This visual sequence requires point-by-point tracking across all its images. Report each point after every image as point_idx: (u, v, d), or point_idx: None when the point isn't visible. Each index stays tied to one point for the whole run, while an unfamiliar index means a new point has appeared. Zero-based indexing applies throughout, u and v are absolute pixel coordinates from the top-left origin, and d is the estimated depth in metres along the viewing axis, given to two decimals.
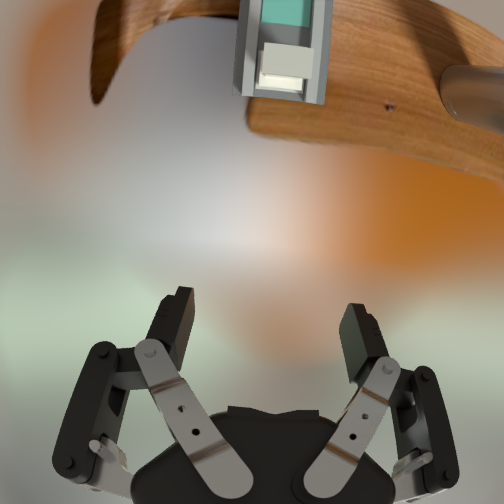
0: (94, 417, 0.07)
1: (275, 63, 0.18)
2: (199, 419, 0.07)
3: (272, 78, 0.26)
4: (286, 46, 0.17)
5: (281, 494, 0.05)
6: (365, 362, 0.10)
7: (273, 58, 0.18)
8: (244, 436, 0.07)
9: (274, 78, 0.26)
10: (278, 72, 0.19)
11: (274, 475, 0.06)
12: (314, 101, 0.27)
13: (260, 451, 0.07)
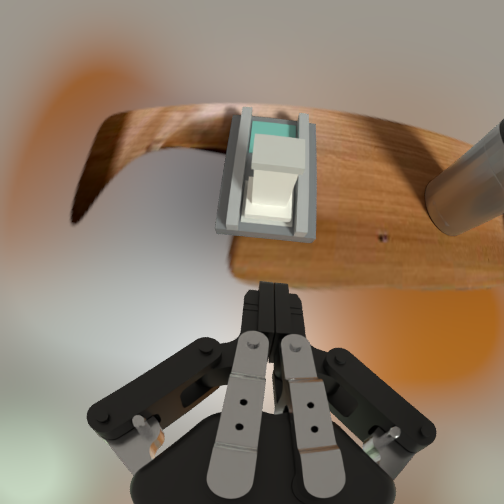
0: (157, 399, 0.08)
1: (266, 153, 0.20)
2: (251, 419, 0.07)
3: (259, 205, 0.29)
4: (277, 137, 0.20)
5: (281, 494, 0.05)
6: (275, 339, 0.11)
7: (264, 148, 0.20)
8: None
9: (261, 205, 0.29)
10: (269, 162, 0.20)
11: (274, 475, 0.06)
12: (305, 230, 0.28)
13: (259, 451, 0.07)
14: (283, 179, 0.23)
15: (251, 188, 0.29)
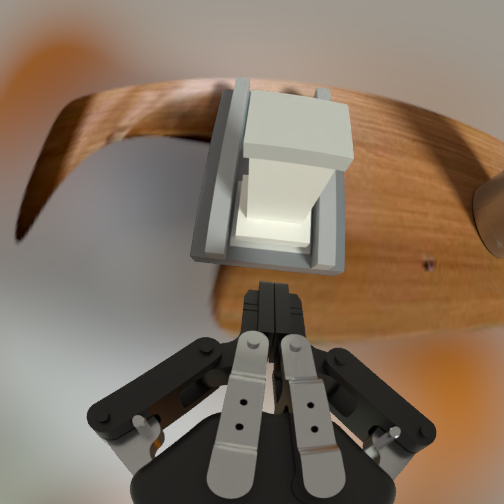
0: (157, 399, 0.08)
1: (274, 125, 0.09)
2: (251, 419, 0.07)
3: (259, 221, 0.18)
4: (295, 97, 0.10)
5: (281, 494, 0.05)
6: (275, 339, 0.11)
7: (270, 116, 0.09)
8: None
9: (263, 221, 0.18)
10: (280, 142, 0.09)
11: (274, 475, 0.06)
12: (332, 261, 0.18)
13: (259, 451, 0.07)
14: (304, 179, 0.12)
15: (246, 193, 0.18)
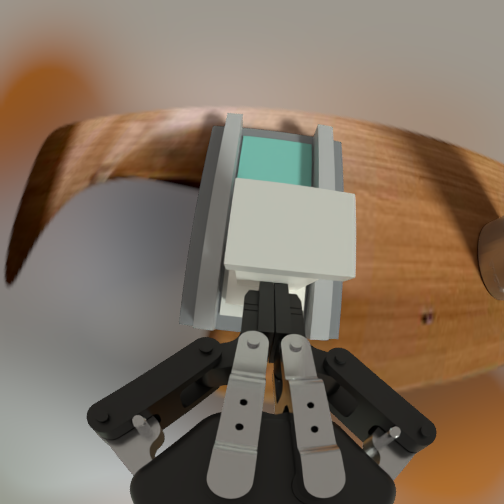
0: (157, 399, 0.08)
1: (261, 235, 0.08)
2: (251, 418, 0.07)
3: (251, 288, 0.17)
4: (290, 188, 0.09)
5: (281, 494, 0.05)
6: (275, 339, 0.11)
7: (257, 221, 0.08)
8: None
9: (254, 288, 0.17)
10: (268, 261, 0.08)
11: (274, 475, 0.06)
12: (325, 336, 0.16)
13: (259, 451, 0.07)
14: None
15: None
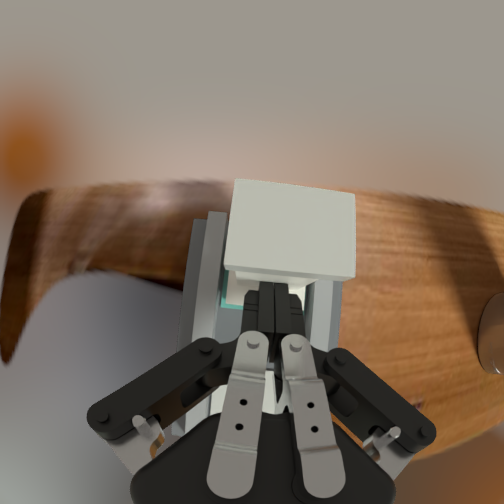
0: (156, 399, 0.08)
1: (261, 236, 0.08)
2: (251, 419, 0.07)
3: (251, 288, 0.17)
4: (289, 188, 0.09)
5: (281, 494, 0.05)
6: (276, 339, 0.11)
7: (256, 221, 0.08)
8: None
9: (254, 288, 0.17)
10: (268, 262, 0.08)
11: (274, 475, 0.06)
12: None
13: (259, 450, 0.07)
14: None
15: None
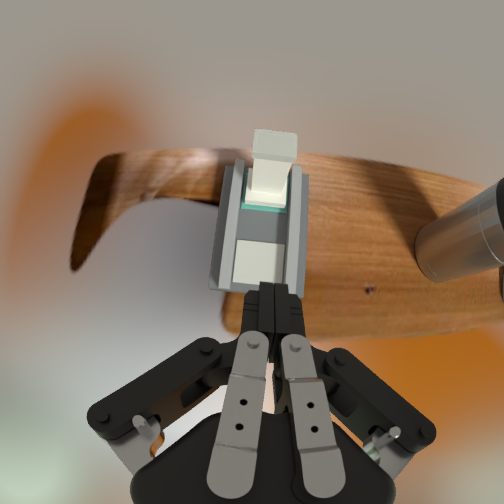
0: (157, 399, 0.08)
1: (264, 144, 0.24)
2: (251, 419, 0.07)
3: (258, 193, 0.32)
4: (273, 131, 0.24)
5: (281, 494, 0.05)
6: (275, 339, 0.11)
7: (262, 141, 0.24)
8: None
9: (260, 193, 0.32)
10: (266, 152, 0.24)
11: (274, 475, 0.06)
12: (293, 293, 0.30)
13: (259, 451, 0.07)
14: (279, 167, 0.27)
15: (251, 178, 0.33)
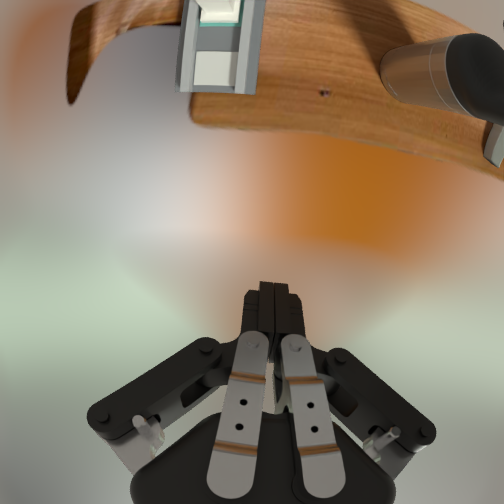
0: (157, 399, 0.08)
1: None
2: (251, 419, 0.07)
3: (212, 13, 0.25)
4: None
5: (281, 494, 0.05)
6: (275, 339, 0.11)
7: None
8: None
9: (213, 13, 0.25)
10: None
11: (274, 475, 0.06)
12: (242, 91, 0.31)
13: (260, 451, 0.07)
14: None
15: None
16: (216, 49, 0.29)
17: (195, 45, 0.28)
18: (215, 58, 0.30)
